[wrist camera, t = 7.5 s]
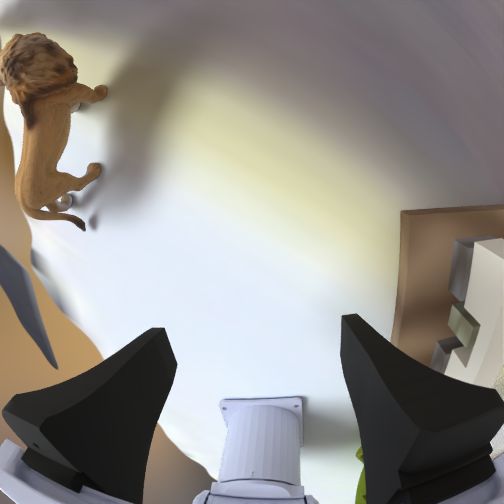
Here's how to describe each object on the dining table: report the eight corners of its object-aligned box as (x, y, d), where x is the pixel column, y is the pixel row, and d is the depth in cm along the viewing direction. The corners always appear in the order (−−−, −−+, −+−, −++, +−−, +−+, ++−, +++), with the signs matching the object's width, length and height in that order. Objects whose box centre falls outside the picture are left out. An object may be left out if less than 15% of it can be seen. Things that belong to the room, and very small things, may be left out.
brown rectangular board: (475, 360, 22) (495, 388, 17) (382, 386, 23) (395, 424, 18) (509, 204, 16) (546, 219, 12) (400, 210, 18) (435, 230, 13)
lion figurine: (63, 63, 15) (-14, 47, 7) (113, 45, 15) (36, 9, 7) (67, 229, 20) (-9, 269, 12) (116, 228, 20) (37, 275, 11)
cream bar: (462, 382, 18) (479, 410, 15) (437, 390, 19) (453, 421, 15) (501, 238, 14) (536, 257, 10) (474, 241, 14) (510, 264, 11)
